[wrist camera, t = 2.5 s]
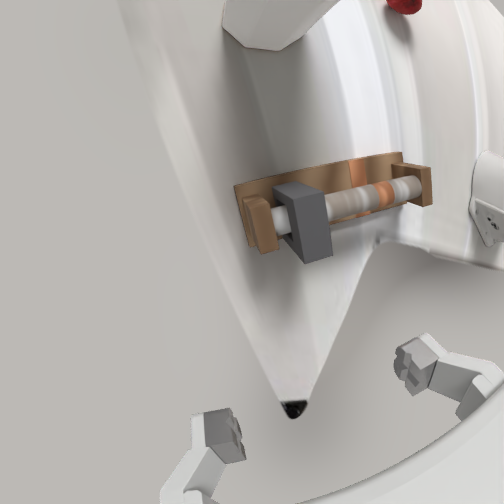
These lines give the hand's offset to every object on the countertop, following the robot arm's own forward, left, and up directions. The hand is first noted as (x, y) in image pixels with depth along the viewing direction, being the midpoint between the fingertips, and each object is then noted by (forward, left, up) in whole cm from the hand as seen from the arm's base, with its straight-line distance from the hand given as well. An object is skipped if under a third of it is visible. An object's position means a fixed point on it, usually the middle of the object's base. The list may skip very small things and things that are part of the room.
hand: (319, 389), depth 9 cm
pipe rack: (-7, -11, -27) cm, 30 cm away
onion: (+9, -43, -28) cm, 52 cm away
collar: (-3, -5, -25) cm, 25 cm away
